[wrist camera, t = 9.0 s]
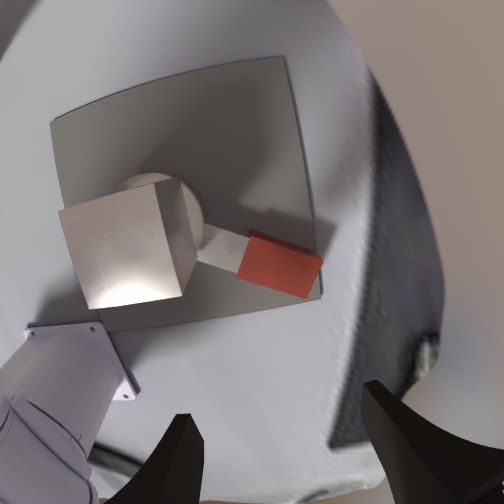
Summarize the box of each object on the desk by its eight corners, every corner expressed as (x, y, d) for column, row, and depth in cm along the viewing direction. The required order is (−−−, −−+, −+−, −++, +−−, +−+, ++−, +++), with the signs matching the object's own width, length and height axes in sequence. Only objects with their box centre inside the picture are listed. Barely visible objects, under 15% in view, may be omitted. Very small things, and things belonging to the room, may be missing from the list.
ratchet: (107, 249, 18) (70, 278, 13) (129, 160, 17) (90, 162, 12) (291, 309, 20) (305, 354, 15) (326, 227, 18) (356, 252, 13)
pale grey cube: (125, 270, 17) (89, 309, 12) (104, 195, 15) (58, 211, 11) (197, 257, 17) (182, 295, 12) (179, 175, 15) (153, 183, 10)
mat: (107, 330, 20) (106, 332, 20) (52, 122, 16) (49, 122, 15) (320, 297, 20) (321, 299, 20) (282, 58, 15) (282, 56, 15)
